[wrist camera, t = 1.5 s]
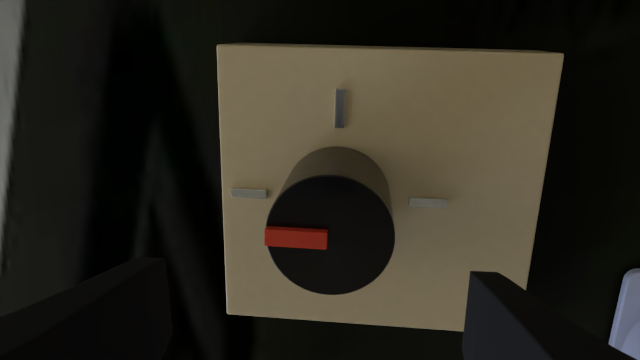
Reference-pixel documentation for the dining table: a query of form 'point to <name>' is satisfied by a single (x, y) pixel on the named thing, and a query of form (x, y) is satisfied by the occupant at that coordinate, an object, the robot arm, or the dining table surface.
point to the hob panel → (389, 167)
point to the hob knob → (332, 222)
